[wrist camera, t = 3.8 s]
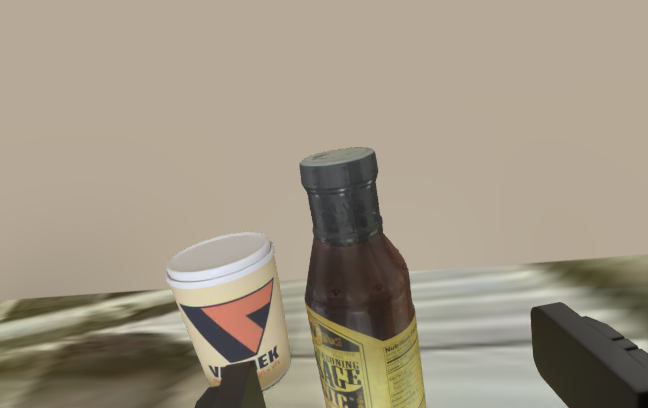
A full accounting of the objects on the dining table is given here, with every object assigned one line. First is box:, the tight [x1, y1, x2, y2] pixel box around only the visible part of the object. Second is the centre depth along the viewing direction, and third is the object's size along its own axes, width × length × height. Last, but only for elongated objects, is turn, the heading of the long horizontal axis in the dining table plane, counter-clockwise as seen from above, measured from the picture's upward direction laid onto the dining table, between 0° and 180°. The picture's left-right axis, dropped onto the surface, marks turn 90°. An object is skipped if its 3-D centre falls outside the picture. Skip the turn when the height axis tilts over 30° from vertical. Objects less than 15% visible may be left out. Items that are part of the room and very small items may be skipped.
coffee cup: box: [165, 232, 290, 391], centre depth 36 cm, size 9×9×12 cm
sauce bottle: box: [300, 147, 426, 408], centre depth 24 cm, size 6×6×20 cm
